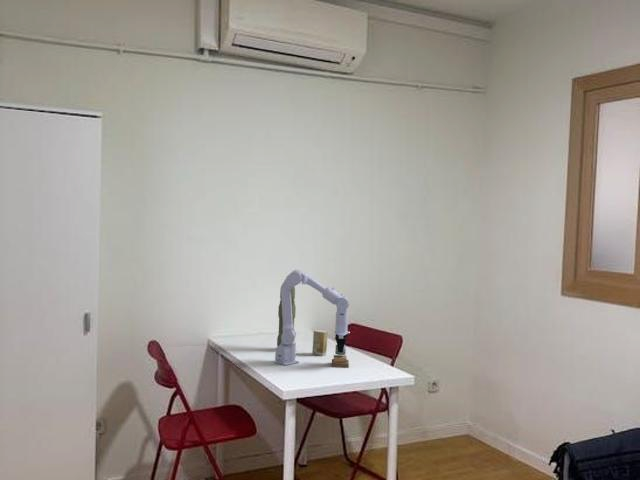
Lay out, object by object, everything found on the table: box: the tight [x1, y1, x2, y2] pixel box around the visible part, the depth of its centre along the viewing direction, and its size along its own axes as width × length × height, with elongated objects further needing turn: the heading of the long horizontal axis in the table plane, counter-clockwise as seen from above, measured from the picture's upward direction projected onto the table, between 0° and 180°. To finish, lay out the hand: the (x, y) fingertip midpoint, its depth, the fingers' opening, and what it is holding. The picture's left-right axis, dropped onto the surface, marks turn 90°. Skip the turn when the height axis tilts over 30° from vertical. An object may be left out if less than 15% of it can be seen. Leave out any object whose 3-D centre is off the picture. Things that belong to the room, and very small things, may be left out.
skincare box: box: [311, 329, 328, 357], centre depth 289 cm, size 6×4×12 cm
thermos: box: [276, 286, 297, 347], centre depth 296 cm, size 9×12×35 cm
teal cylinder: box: [334, 344, 347, 355], centre depth 270 cm, size 5×5×4 cm
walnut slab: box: [330, 358, 350, 369], centre depth 270 cm, size 8×8×2 cm
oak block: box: [333, 354, 348, 363], centre depth 270 cm, size 6×6×2 cm
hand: (340, 350), depth 270 cm, fingers closed on teal cylinder, 5 cm apart
